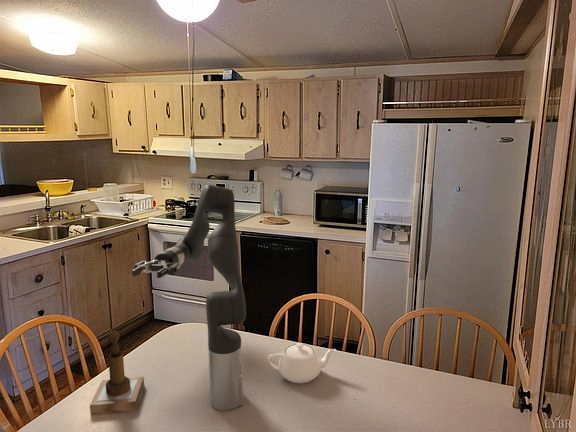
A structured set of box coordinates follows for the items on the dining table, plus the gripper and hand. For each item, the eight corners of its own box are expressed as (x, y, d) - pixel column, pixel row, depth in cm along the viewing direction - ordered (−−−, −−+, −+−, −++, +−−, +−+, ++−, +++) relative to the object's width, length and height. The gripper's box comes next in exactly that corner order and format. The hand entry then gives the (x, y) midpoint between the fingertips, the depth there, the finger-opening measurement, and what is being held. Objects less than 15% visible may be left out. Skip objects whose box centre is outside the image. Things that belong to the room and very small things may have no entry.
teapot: (268, 389, 126) (267, 356, 124) (267, 364, 140) (266, 335, 138) (339, 386, 128) (340, 354, 126) (331, 362, 141) (332, 333, 139)
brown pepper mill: (134, 383, 123) (130, 327, 120) (123, 397, 117) (118, 338, 114) (113, 382, 124) (108, 326, 121) (101, 395, 118) (95, 336, 114)
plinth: (144, 385, 128) (143, 376, 127) (136, 410, 116) (135, 400, 116) (103, 389, 126) (102, 379, 125) (90, 415, 114) (89, 404, 114)
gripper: (150, 248, 149) (124, 261, 133) (188, 250, 146) (165, 264, 130) (152, 268, 150) (126, 284, 135) (188, 271, 147) (166, 287, 132)
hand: (145, 274), depth 133 cm, fingers open, 8 cm apart
